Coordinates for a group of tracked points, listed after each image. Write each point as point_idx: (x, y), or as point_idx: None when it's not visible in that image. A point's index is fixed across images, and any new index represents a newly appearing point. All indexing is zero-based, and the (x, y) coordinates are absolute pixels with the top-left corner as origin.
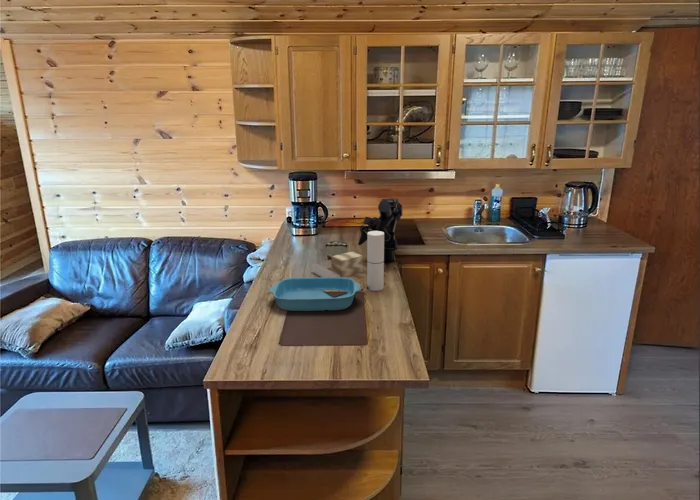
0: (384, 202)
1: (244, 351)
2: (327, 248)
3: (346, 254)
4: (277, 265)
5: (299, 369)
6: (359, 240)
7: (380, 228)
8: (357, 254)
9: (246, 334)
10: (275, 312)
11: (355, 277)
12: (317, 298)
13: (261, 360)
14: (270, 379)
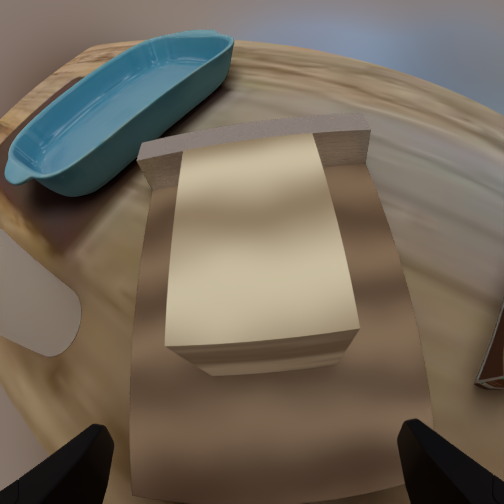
0: None
1: (101, 54)
2: None
3: (294, 230)
4: (485, 122)
5: (29, 97)
6: (454, 451)
7: None
8: (230, 323)
9: None
10: None
11: (161, 284)
12: (70, 88)
13: (72, 68)
14: (45, 79)
